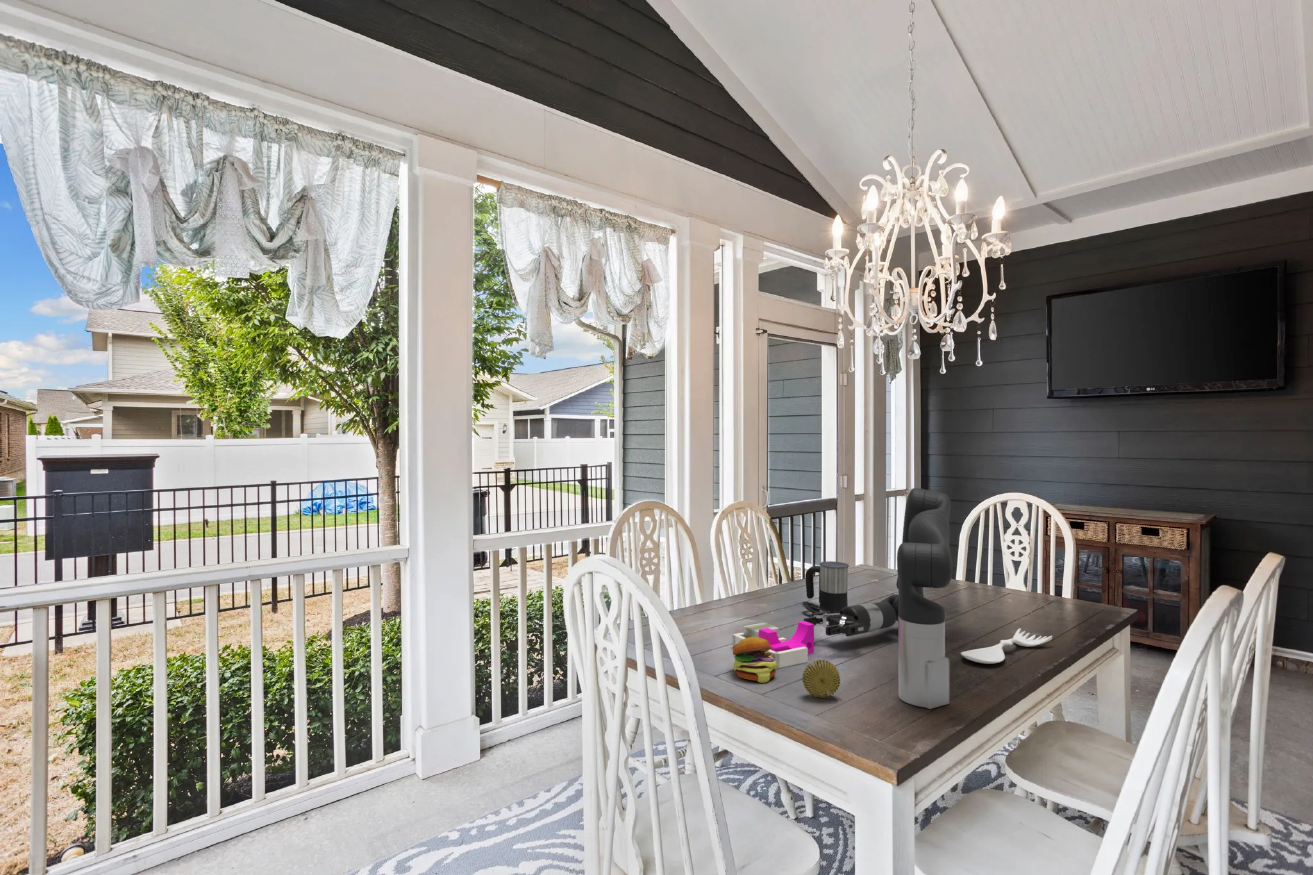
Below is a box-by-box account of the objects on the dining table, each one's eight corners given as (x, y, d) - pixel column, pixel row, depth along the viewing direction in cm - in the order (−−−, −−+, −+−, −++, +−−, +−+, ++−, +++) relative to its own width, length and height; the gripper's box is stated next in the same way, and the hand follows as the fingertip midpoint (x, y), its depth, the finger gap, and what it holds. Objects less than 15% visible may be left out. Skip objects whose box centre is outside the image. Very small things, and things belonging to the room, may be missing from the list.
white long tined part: (1053, 647, 174) (1054, 634, 174) (988, 672, 156) (988, 658, 156) (1019, 638, 181) (1019, 626, 181) (953, 661, 163) (953, 647, 163)
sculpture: (837, 693, 143) (837, 657, 143) (842, 701, 139) (842, 663, 139) (800, 693, 143) (800, 656, 143) (804, 700, 139) (804, 663, 139)
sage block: (779, 651, 171) (779, 628, 171) (757, 655, 168) (757, 632, 168) (764, 644, 177) (764, 622, 177) (743, 648, 173) (743, 626, 173)
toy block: (774, 666, 160) (774, 635, 160) (758, 658, 166) (758, 629, 166) (820, 656, 168) (820, 626, 168) (804, 649, 173) (804, 620, 173)
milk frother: (848, 606, 214) (848, 561, 214) (849, 620, 199) (849, 571, 199) (804, 604, 218) (804, 559, 218) (801, 616, 203) (801, 569, 203)
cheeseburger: (744, 686, 147) (739, 640, 149) (727, 681, 157) (722, 637, 159) (785, 680, 150) (779, 635, 152) (765, 675, 160) (760, 633, 162)
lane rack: (807, 661, 163) (807, 647, 163) (775, 668, 158) (775, 654, 158) (763, 641, 179) (763, 628, 178) (732, 647, 174) (732, 634, 174)
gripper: (842, 599, 184) (797, 606, 176) (881, 611, 171) (834, 619, 164) (842, 625, 184) (797, 634, 176) (881, 639, 171) (834, 649, 164)
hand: (815, 627), depth 170 cm, fingers open, 8 cm apart
